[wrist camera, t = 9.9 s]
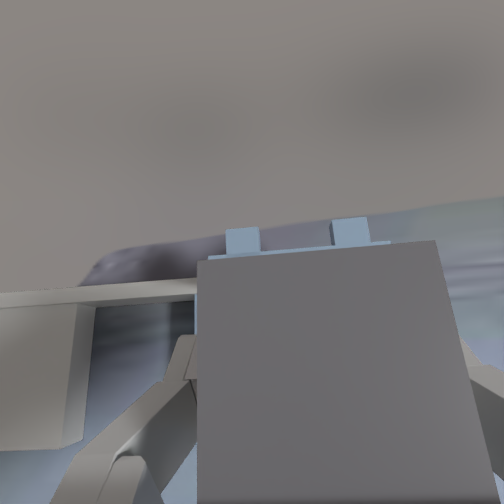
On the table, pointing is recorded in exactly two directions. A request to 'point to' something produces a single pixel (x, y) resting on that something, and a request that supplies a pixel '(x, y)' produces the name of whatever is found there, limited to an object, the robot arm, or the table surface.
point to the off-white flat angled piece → (58, 356)
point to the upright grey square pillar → (335, 382)
